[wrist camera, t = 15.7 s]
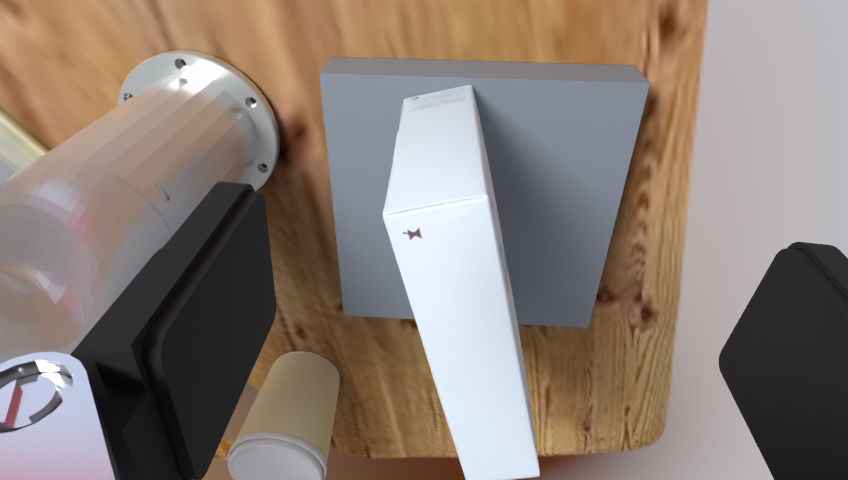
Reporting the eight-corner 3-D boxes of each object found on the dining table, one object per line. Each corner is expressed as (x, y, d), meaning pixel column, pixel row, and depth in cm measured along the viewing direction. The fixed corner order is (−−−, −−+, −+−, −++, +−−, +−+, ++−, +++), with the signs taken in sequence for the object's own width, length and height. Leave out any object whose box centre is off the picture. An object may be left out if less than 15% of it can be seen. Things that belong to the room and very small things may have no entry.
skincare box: (520, 312, 47) (542, 481, 34) (459, 320, 48) (457, 487, 35) (480, 78, 35) (489, 196, 22) (401, 95, 36) (366, 217, 23)
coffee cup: (258, 389, 61) (218, 488, 51) (272, 335, 56) (230, 433, 46) (336, 410, 62) (312, 510, 52) (357, 359, 57) (334, 459, 47)
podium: (580, 298, 50) (588, 327, 47) (351, 287, 52) (343, 315, 48) (634, 65, 38) (650, 83, 35) (331, 57, 39) (319, 73, 36)
